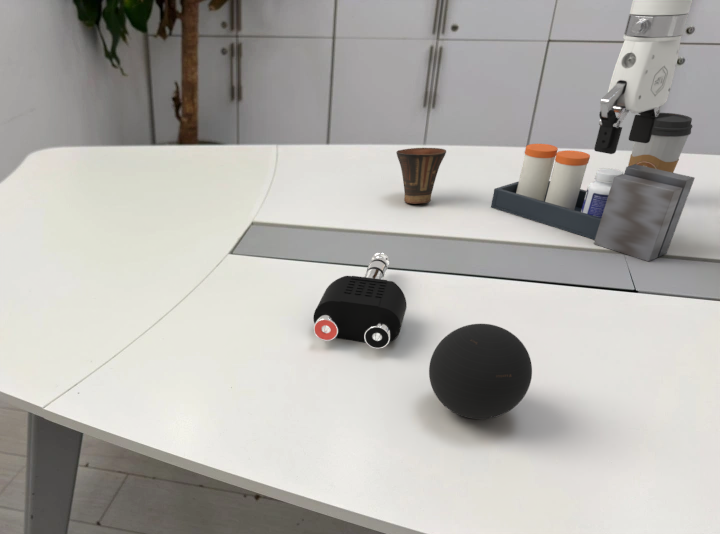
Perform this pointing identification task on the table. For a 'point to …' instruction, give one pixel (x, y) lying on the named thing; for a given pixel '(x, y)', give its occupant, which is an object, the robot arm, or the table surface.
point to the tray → (546, 211)
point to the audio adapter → (362, 307)
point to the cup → (419, 172)
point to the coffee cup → (663, 143)
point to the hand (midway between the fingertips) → (621, 146)
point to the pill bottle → (599, 191)
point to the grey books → (643, 211)
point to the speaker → (480, 371)
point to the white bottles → (563, 176)
